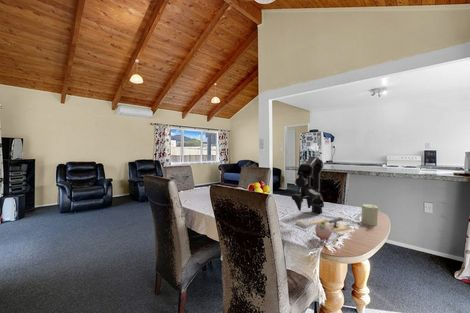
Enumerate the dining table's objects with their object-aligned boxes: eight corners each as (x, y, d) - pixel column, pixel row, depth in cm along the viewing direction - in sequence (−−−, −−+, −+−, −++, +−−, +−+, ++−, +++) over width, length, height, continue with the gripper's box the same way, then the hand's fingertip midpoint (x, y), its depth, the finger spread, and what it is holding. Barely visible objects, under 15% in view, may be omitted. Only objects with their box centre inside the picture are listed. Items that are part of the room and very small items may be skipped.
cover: (295, 225, 139) (295, 220, 138) (301, 223, 142) (302, 218, 142) (306, 229, 132) (306, 224, 132) (312, 227, 136) (312, 222, 135)
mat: (292, 226, 138) (292, 225, 138) (302, 222, 144) (302, 222, 144) (305, 231, 130) (305, 231, 130) (315, 227, 136) (315, 227, 136)
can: (369, 226, 140) (370, 207, 139) (357, 221, 149) (358, 203, 148) (380, 224, 142) (381, 206, 141) (368, 219, 151) (369, 202, 150)
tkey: (331, 229, 130) (331, 221, 130) (327, 228, 132) (328, 220, 132) (342, 225, 136) (343, 218, 136) (339, 224, 138) (339, 217, 138)
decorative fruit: (332, 244, 114) (333, 226, 114) (315, 242, 116) (316, 224, 116) (329, 237, 123) (330, 219, 123) (314, 235, 125) (315, 218, 125)
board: (308, 224, 141) (308, 222, 141) (321, 220, 150) (321, 217, 149) (341, 236, 124) (341, 234, 124) (354, 231, 132) (354, 228, 132)
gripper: (307, 188, 123) (306, 215, 124) (326, 185, 134) (324, 210, 135) (291, 185, 132) (290, 210, 133) (310, 182, 143) (309, 205, 144)
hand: (304, 209), depth 136 cm, fingers open, 9 cm apart
